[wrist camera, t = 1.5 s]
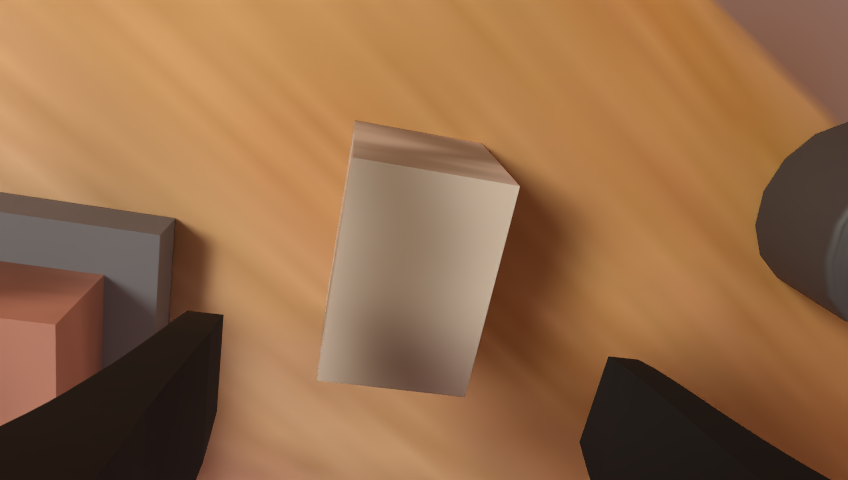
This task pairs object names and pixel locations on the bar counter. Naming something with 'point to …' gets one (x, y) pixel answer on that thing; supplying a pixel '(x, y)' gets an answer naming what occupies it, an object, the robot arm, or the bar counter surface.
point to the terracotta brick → (46, 334)
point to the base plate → (98, 259)
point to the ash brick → (414, 260)
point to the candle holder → (810, 220)
